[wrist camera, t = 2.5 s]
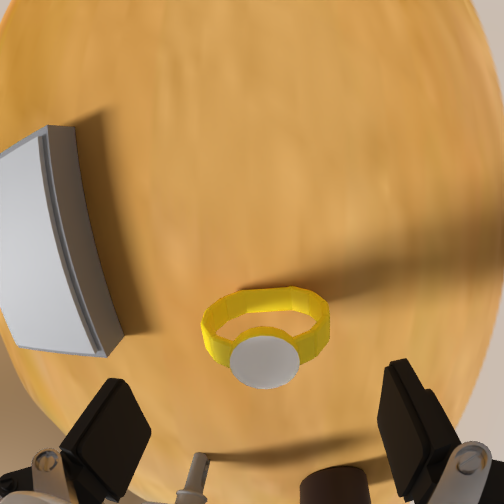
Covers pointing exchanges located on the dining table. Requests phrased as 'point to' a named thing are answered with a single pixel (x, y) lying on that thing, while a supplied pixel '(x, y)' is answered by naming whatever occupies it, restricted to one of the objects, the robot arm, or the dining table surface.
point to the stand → (51, 251)
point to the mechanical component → (193, 482)
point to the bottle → (335, 487)
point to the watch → (266, 335)
